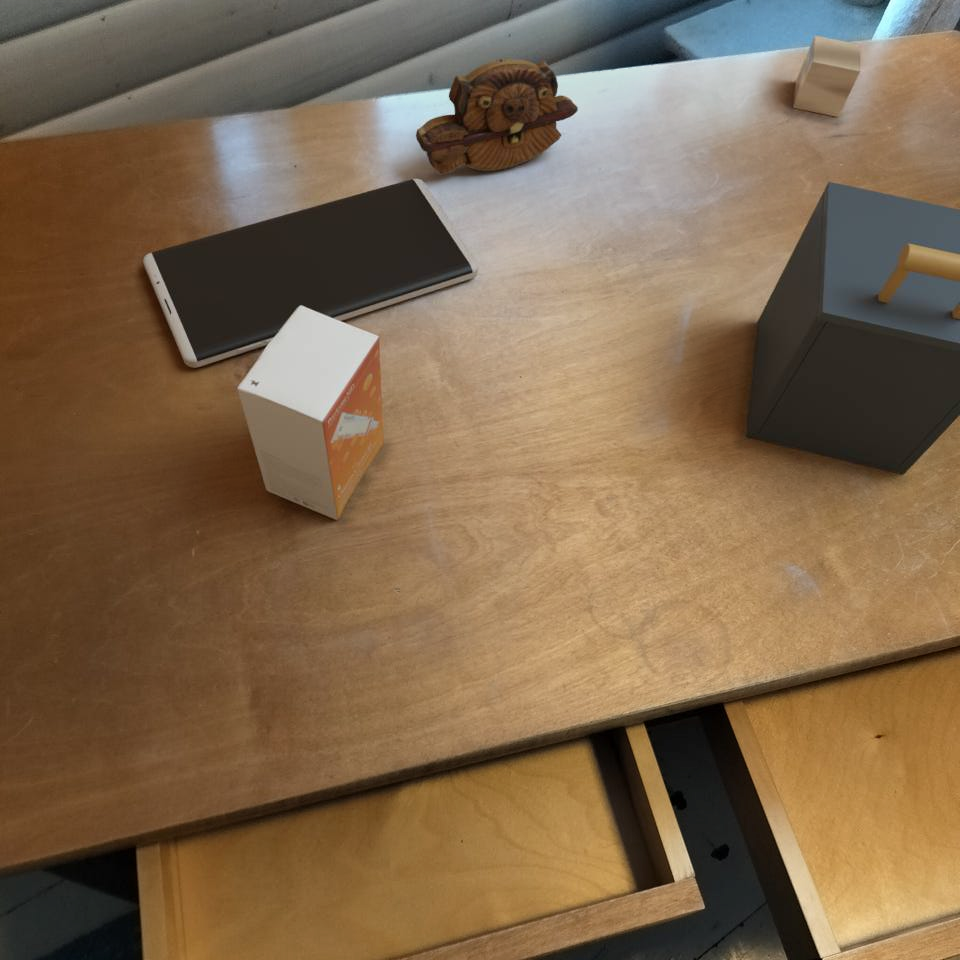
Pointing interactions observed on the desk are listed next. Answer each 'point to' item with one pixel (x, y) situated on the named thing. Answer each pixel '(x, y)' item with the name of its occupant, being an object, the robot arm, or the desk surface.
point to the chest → (844, 377)
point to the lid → (890, 266)
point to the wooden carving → (497, 117)
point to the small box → (315, 410)
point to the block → (827, 76)
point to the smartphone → (306, 269)
